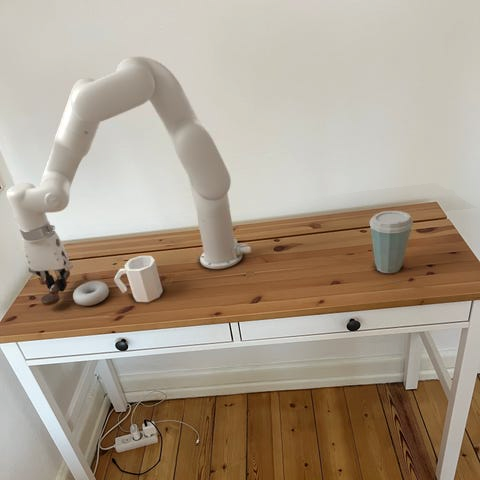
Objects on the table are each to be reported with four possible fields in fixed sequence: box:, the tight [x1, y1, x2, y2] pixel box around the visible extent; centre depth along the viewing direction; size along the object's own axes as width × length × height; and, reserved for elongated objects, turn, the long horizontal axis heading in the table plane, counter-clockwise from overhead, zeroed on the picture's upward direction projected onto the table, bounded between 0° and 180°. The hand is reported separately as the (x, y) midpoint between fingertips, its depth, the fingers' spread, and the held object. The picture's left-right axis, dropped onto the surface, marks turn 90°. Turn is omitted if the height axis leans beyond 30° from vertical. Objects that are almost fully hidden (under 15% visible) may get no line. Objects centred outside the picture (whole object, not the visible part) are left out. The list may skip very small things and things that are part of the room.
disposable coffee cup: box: [369, 210, 414, 274], centre depth 139 cm, size 11×11×15 cm
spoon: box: [40, 270, 71, 307], centre depth 152 cm, size 16×5×2 cm, turn 175°
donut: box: [72, 280, 110, 307], centre depth 150 cm, size 10×4×10 cm
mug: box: [113, 255, 163, 303], centre depth 146 cm, size 12×9×10 cm
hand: (58, 289), depth 152 cm, fingers closed on spoon, 2 cm apart
